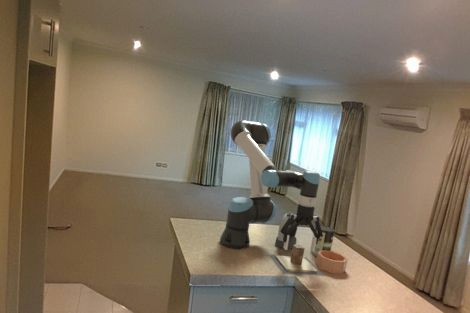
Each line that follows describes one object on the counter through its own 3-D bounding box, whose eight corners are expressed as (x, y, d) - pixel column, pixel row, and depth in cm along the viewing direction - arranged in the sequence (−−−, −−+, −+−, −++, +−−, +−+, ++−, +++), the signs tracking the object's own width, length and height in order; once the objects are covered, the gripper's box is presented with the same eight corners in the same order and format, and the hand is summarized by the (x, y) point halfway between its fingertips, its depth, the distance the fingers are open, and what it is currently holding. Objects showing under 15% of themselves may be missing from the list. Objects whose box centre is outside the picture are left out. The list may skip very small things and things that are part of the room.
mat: (282, 274, 160) (282, 273, 160) (268, 255, 179) (268, 254, 179) (324, 276, 165) (324, 275, 165) (306, 258, 184) (306, 257, 184)
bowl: (324, 273, 169) (326, 260, 168) (311, 261, 181) (314, 249, 181) (349, 274, 172) (351, 262, 171) (335, 262, 184) (338, 251, 184)
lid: (286, 271, 163) (289, 251, 162) (275, 257, 178) (278, 239, 177) (317, 272, 167) (320, 253, 166) (303, 259, 181) (307, 241, 180)
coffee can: (329, 252, 198) (334, 227, 196) (330, 259, 188) (335, 232, 186) (310, 248, 200) (314, 223, 198) (310, 255, 190) (315, 228, 188)
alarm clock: (289, 252, 189) (295, 217, 187) (270, 246, 194) (276, 212, 192) (299, 244, 203) (305, 212, 201) (281, 239, 208) (287, 207, 206)
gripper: (284, 204, 162) (276, 251, 164) (335, 209, 168) (327, 254, 170) (278, 200, 169) (270, 245, 172) (327, 205, 176) (319, 248, 178)
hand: (298, 249), depth 171 cm, fingers open, 13 cm apart
